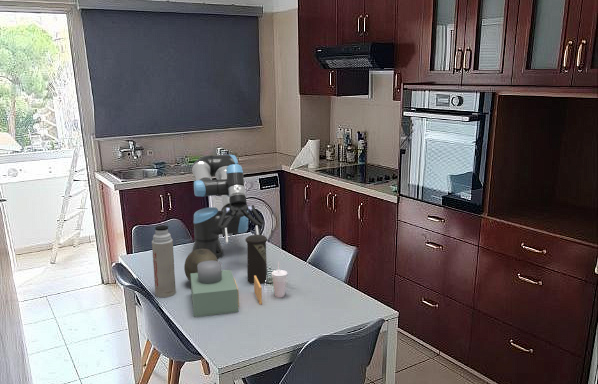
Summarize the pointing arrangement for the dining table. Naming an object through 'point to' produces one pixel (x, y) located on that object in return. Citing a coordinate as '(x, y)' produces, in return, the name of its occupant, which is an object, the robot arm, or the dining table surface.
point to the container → (256, 258)
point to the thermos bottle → (163, 262)
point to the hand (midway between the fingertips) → (242, 241)
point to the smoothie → (279, 282)
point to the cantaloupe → (197, 260)
